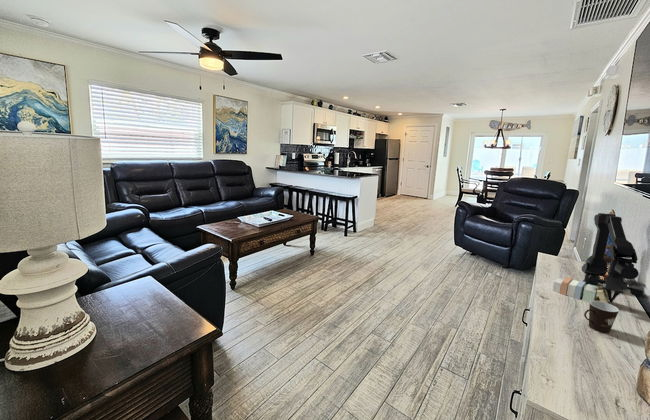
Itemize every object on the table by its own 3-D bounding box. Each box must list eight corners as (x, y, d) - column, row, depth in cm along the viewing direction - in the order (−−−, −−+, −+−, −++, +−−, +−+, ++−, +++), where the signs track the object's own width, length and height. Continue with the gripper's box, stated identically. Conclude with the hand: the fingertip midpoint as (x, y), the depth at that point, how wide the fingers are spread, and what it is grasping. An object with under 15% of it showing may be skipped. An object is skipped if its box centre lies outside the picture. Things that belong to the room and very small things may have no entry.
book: (585, 294, 149) (587, 283, 148) (595, 297, 146) (598, 286, 145) (582, 300, 143) (584, 289, 142) (593, 303, 140) (595, 292, 139)
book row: (556, 286, 158) (558, 274, 157) (583, 293, 150) (585, 282, 149) (551, 291, 152) (554, 279, 151) (579, 299, 144) (581, 287, 143)
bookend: (597, 298, 145) (592, 286, 146) (609, 298, 142) (604, 286, 143) (594, 304, 140) (590, 291, 141) (607, 304, 137) (602, 291, 137)
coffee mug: (606, 324, 123) (611, 302, 121) (618, 336, 115) (624, 313, 113) (572, 319, 127) (576, 298, 125) (582, 330, 119) (586, 308, 117)
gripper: (587, 268, 138) (581, 299, 141) (645, 282, 124) (637, 316, 127) (592, 263, 145) (586, 292, 148) (647, 275, 131) (639, 308, 134)
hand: (610, 302), depth 139 cm, fingers closed
